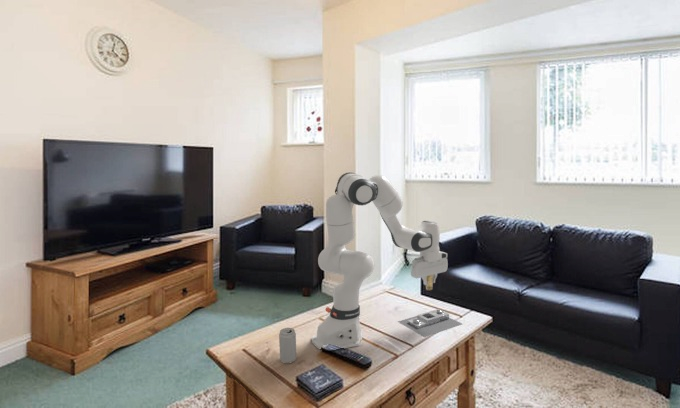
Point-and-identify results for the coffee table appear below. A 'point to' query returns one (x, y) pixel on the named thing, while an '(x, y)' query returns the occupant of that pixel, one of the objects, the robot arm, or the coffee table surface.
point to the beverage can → (287, 345)
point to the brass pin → (429, 282)
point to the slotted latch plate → (433, 318)
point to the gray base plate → (431, 326)
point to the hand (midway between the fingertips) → (429, 283)
